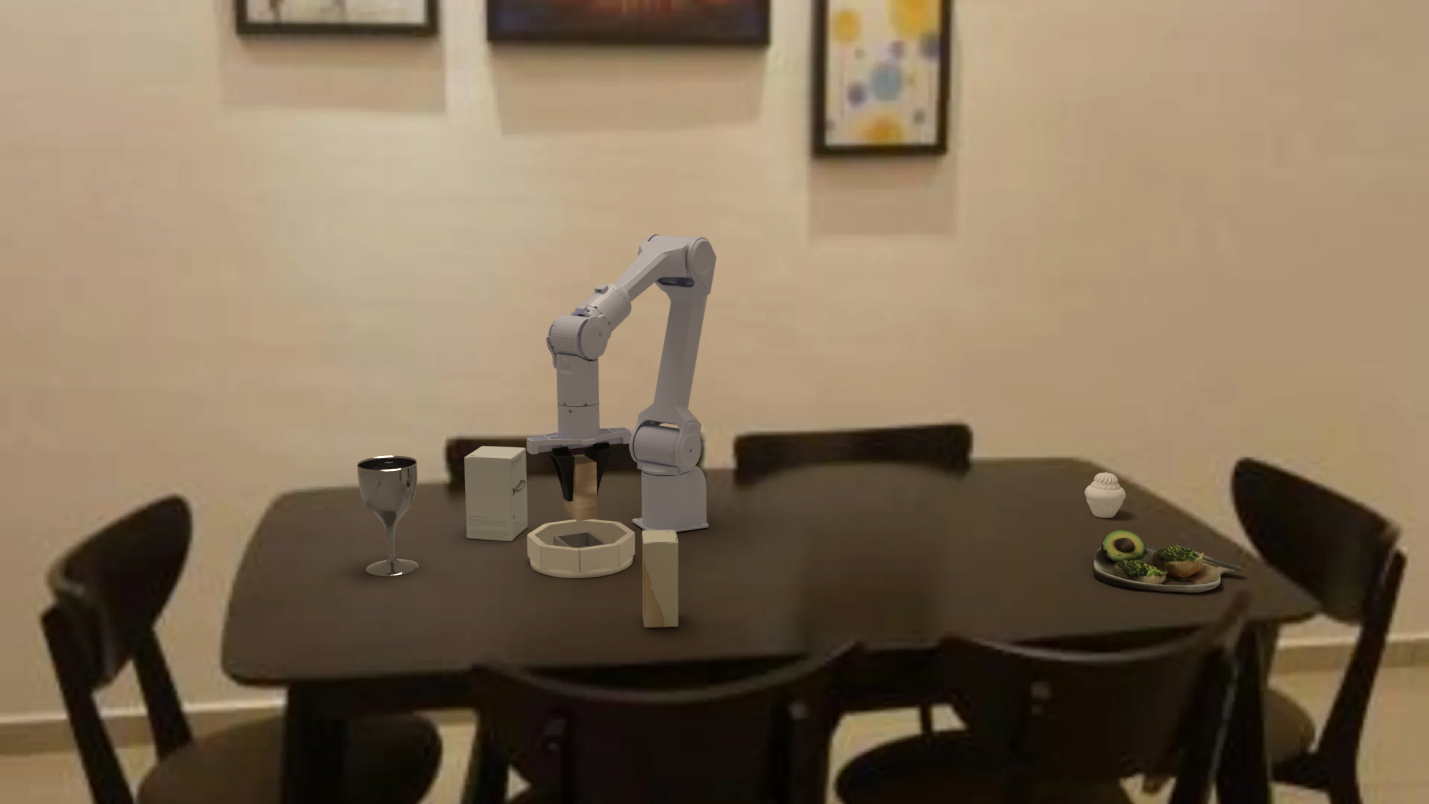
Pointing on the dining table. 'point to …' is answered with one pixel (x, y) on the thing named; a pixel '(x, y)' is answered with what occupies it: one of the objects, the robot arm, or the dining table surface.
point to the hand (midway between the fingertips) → (580, 498)
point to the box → (660, 578)
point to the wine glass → (388, 502)
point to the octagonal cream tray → (581, 548)
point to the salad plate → (1154, 565)
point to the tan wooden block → (583, 490)
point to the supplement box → (496, 493)
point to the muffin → (1105, 495)
